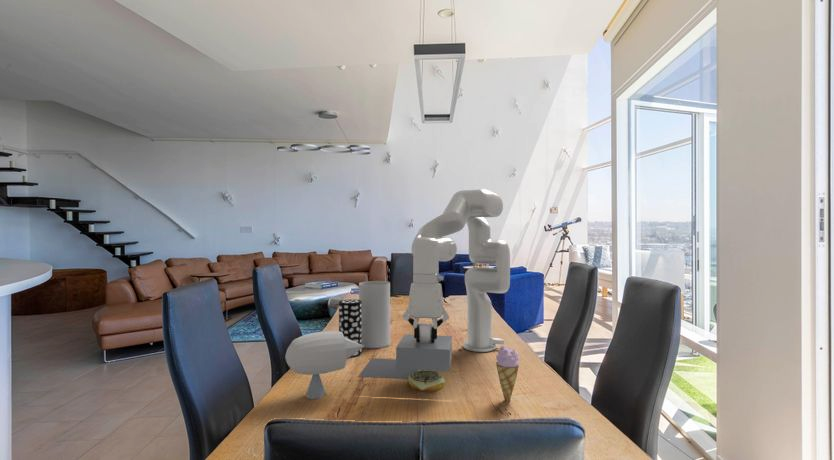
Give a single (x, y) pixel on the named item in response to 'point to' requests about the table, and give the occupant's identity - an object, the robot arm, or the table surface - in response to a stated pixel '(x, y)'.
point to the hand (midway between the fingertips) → (425, 340)
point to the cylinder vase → (375, 313)
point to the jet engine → (320, 357)
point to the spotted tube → (351, 321)
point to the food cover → (424, 351)
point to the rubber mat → (384, 369)
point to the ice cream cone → (507, 370)
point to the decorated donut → (426, 380)
